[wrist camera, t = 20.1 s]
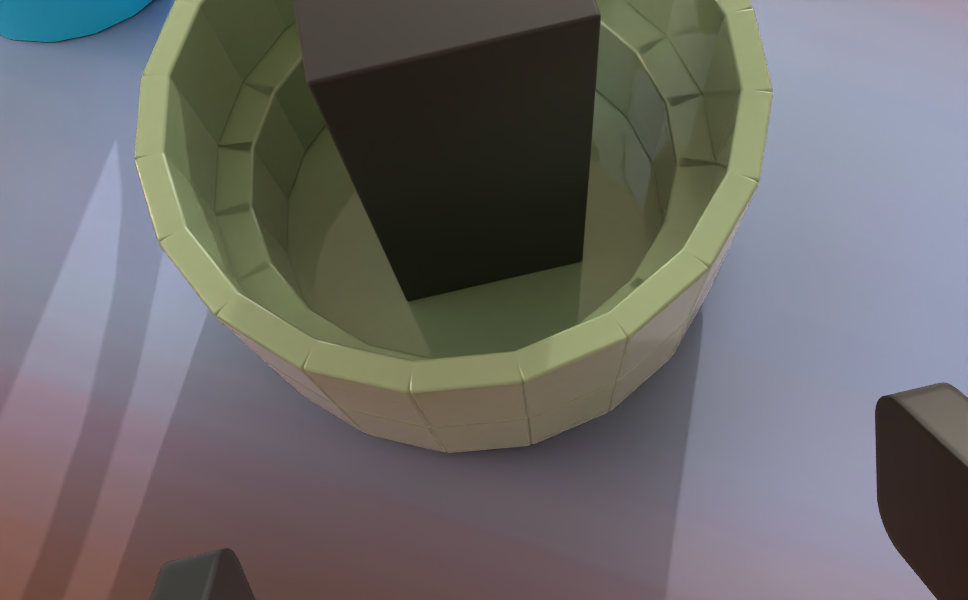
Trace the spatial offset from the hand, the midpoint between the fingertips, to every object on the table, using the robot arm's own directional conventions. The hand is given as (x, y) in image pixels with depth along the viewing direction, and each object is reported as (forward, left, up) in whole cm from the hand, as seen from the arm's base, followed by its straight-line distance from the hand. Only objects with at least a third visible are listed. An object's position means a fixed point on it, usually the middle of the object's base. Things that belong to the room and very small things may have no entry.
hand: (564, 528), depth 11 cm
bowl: (+1, +9, -9) cm, 13 cm away
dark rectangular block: (+2, +9, -8) cm, 12 cm away
